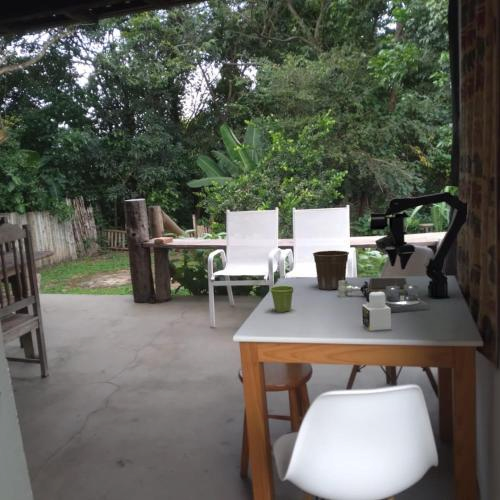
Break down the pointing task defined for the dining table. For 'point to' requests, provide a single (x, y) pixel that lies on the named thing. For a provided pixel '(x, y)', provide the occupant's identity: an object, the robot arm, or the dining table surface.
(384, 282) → the hardcover book
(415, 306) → the dial scale
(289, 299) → the plant pot
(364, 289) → the valve
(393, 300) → the steel spacer
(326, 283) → the plant pot
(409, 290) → the cylinder
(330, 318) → the dining table surface
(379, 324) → the medicine bottle
